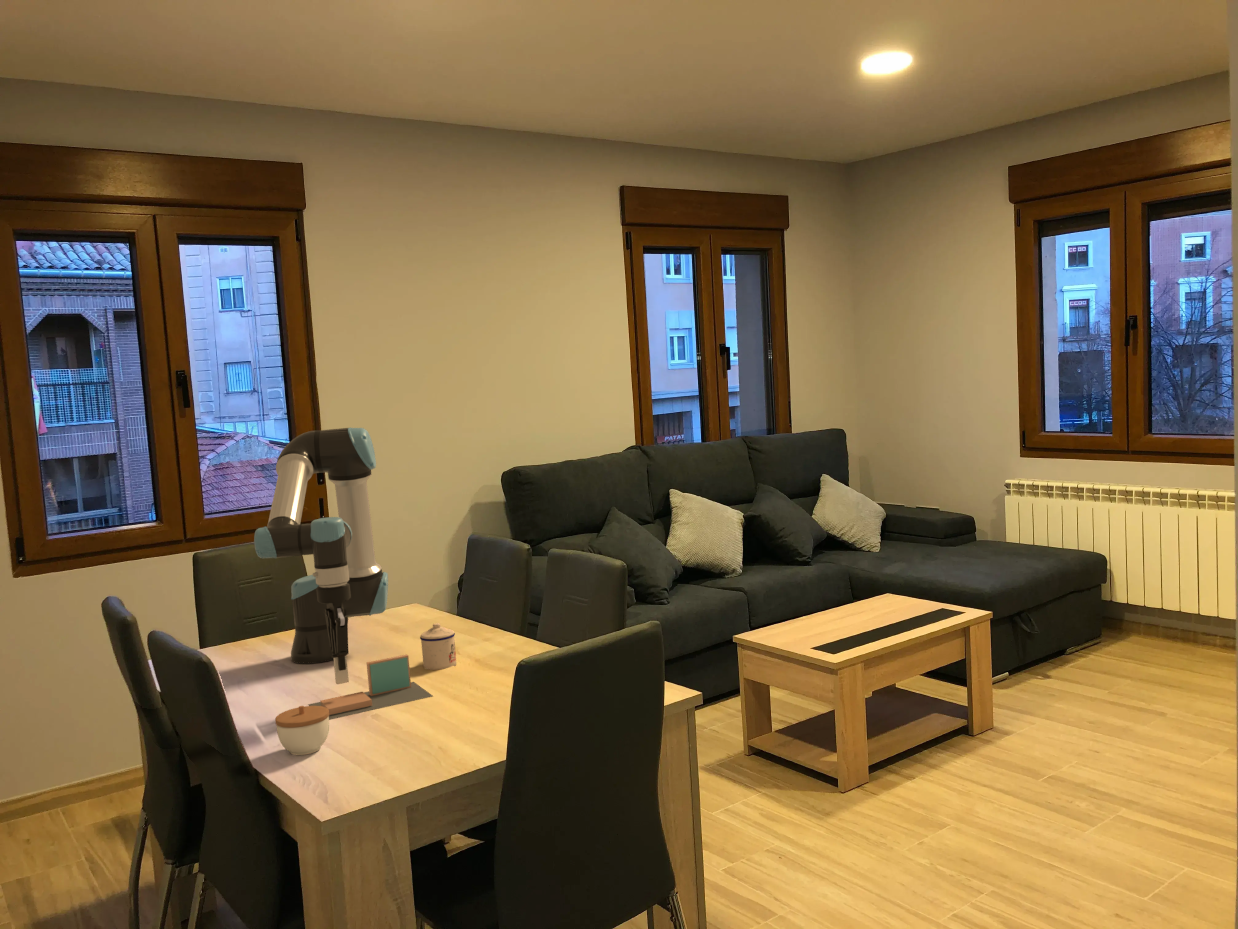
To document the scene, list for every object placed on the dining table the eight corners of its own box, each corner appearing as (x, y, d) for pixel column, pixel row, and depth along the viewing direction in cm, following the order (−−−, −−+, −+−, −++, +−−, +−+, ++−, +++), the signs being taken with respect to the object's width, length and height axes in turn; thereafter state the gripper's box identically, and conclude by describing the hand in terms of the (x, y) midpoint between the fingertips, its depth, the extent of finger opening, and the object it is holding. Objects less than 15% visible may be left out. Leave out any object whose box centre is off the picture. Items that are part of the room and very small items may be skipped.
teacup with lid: (457, 669, 261) (454, 625, 260) (422, 673, 259) (418, 629, 258) (457, 657, 273) (453, 615, 272) (423, 661, 271) (419, 619, 270)
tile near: (320, 700, 235) (328, 709, 228) (362, 691, 240) (371, 699, 233) (320, 707, 235) (329, 716, 228) (363, 698, 240) (372, 706, 233)
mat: (308, 706, 238) (308, 704, 238) (413, 684, 251) (413, 681, 250) (323, 723, 225) (322, 721, 225) (433, 698, 237) (433, 696, 237)
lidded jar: (285, 743, 214) (281, 700, 213) (336, 738, 215) (332, 696, 214) (272, 762, 203) (268, 717, 202) (326, 757, 204) (322, 712, 203)
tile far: (369, 694, 242) (366, 662, 242) (409, 686, 247) (406, 654, 246) (371, 696, 241) (368, 663, 240) (411, 687, 246) (408, 655, 245)
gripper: (310, 582, 237) (319, 679, 239) (323, 590, 226) (333, 692, 228) (341, 577, 241) (351, 673, 243) (356, 585, 229) (365, 685, 231)
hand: (342, 682), depth 235 cm, fingers closed
